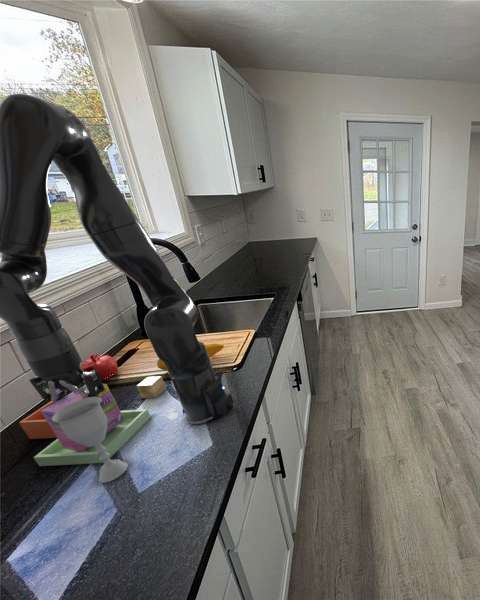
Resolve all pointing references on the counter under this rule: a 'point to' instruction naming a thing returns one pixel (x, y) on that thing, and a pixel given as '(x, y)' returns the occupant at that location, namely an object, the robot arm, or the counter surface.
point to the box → (106, 399)
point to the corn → (211, 351)
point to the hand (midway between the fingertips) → (83, 409)
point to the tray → (112, 442)
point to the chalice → (90, 432)
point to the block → (151, 387)
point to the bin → (38, 425)
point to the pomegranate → (101, 365)
